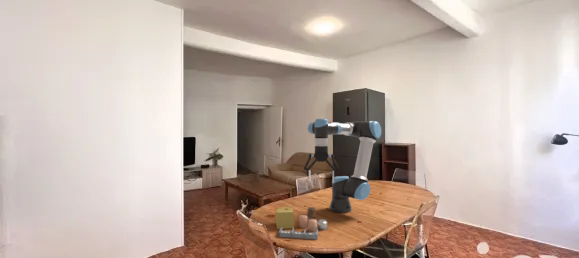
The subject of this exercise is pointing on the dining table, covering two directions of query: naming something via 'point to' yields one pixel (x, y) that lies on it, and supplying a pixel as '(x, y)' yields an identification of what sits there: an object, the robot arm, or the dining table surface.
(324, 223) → the chrome metal ball
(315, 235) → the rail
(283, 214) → the cheese
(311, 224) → the pale pink egg
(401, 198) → the dining table surface
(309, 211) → the walnut post
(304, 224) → the brown egg
